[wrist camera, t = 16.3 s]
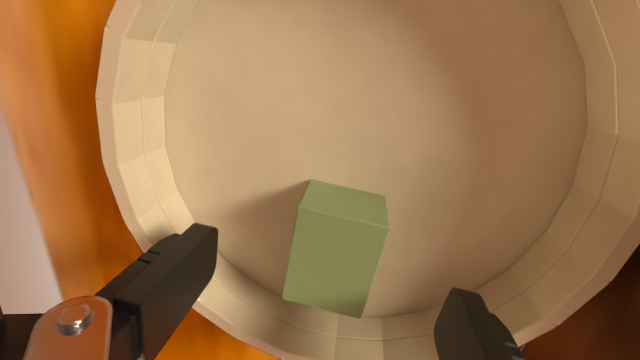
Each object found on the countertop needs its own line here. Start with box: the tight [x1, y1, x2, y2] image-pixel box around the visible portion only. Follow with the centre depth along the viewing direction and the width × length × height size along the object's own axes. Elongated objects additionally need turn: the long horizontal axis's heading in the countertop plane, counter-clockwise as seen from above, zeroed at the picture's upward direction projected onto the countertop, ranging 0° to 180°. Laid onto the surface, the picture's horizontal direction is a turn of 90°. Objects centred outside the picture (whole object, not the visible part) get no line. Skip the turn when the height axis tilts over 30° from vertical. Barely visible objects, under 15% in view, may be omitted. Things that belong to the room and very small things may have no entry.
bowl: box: [95, 0, 640, 360], centre depth 10 cm, size 16×16×3 cm
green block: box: [282, 179, 390, 319], centre depth 11 cm, size 4×3×2 cm
